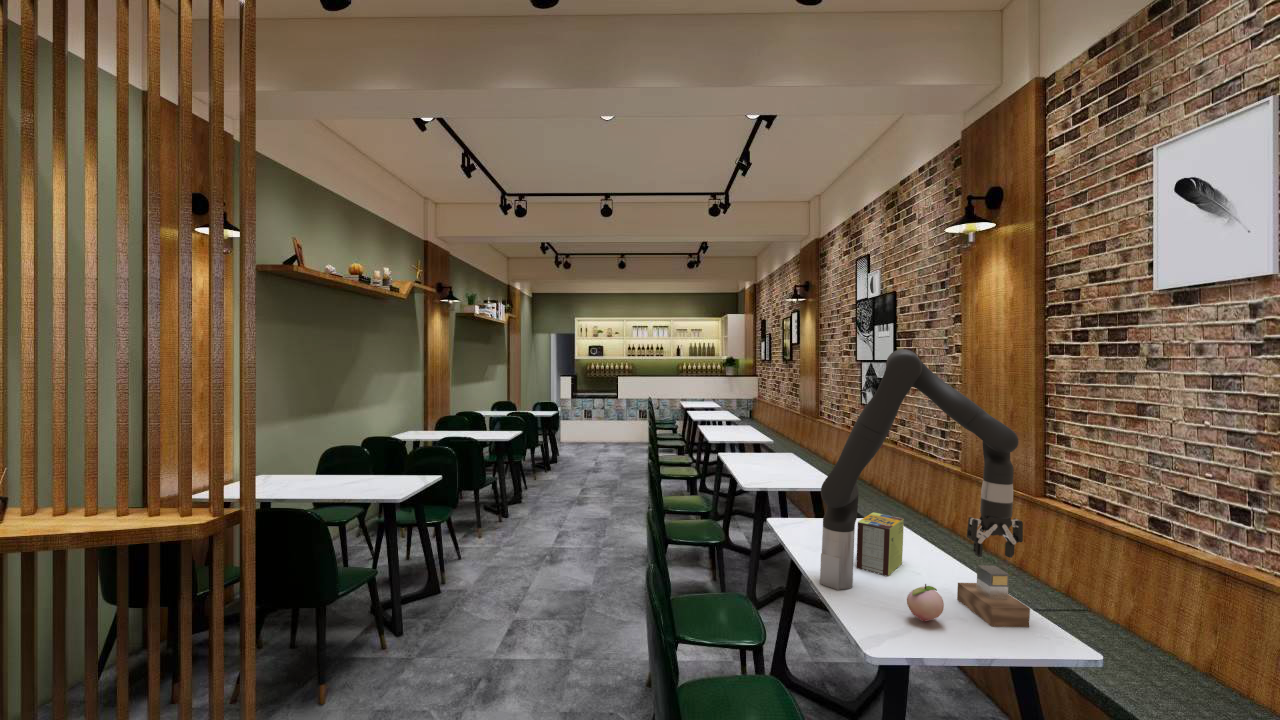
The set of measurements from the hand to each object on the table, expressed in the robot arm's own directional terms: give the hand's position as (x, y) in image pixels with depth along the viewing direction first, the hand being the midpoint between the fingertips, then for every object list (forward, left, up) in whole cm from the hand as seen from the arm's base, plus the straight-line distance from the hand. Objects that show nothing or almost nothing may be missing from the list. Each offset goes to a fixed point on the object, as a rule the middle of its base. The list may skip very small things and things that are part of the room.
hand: (993, 556), depth 161 cm
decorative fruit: (-20, +10, -16) cm, 28 cm away
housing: (0, 0, -11) cm, 11 cm away
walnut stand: (0, 0, -16) cm, 16 cm away
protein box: (+10, +36, -16) cm, 40 cm away
